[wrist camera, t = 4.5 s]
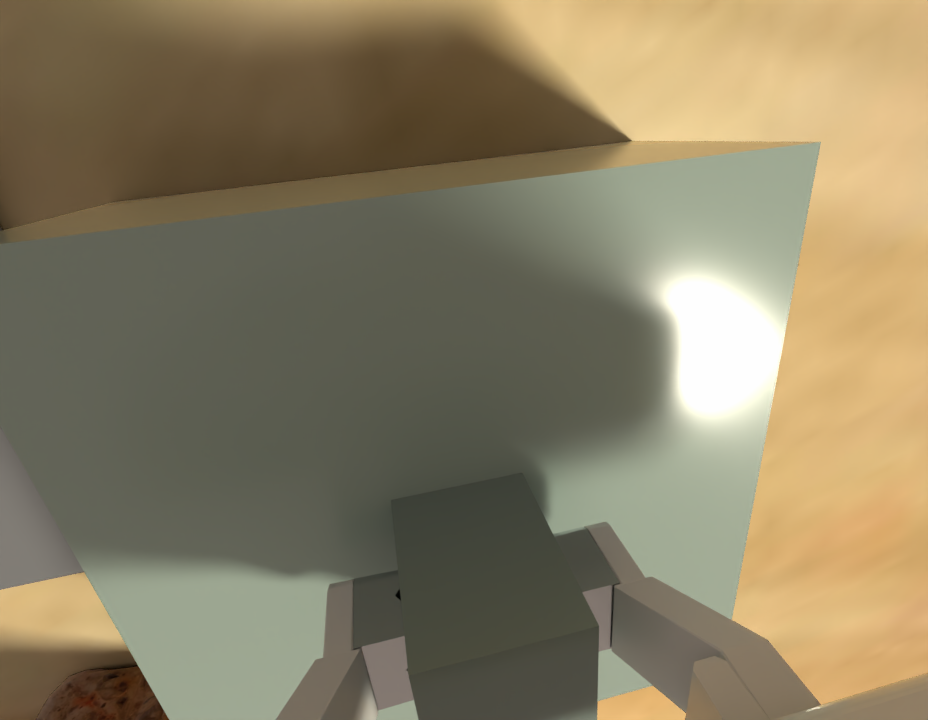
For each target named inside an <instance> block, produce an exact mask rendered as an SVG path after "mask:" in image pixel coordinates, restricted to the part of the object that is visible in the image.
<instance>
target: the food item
mask: <svg viewBox="0 0 928 720" xmlns="http://www.w3.org/2000/svg"><path fill="white" fill-rule="evenodd" d="M36 720H169V718H168V717H167V715H166V713H165V711H164V710H163V708H162V706H161V705H160V703H159V701H158V699H157V698H156V696H155V694H154V692H153V691H152V689H151V687H150V685H149V684H148V682H147V680H146V678H145V677H144V675H143V673H142V671H141V670H140V668H139V666H138V667H129V668H122V669H114V670H106V669H102V668H100V669H94V670H86V671H83V672H80V673H77V674H75V675H72V676H70V677H68V678H67V679H66V680H65V681H64V682H63V683H62V684H61V685H60V686H59V687H58V688H57V689H56V690H55V691H54V692H53V693H52V694H51V695H50V696H49V698H48V699H47V701H46V702H45V704H44V706H43V707H42V709H41V711H40V713H39V714H38V716H37V718H36Z"/></svg>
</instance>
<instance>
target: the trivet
mask: <svg viewBox="0 0 928 720" xmlns="http://www.w3.org/2000/svg"><path fill="white" fill-rule="evenodd" d="M0 231H2V228H1V226H0ZM81 572H84V571H83V569H82V567H81V565H80V564H79V562H78V560H77V558H76V557H75V555H74V553H73V551H72V550H71V548H70V546H69V544H68V543H67V541H66V539H65V538H64V536H63V534H62V532H61V531H60V529H59V527H58V525H57V524H56V522H55V520H54V518H53V517H52V515H51V513H50V511H49V510H48V508H47V506H46V504H45V503H44V501H43V499H42V498H41V496H40V494H39V492H38V491H37V489H36V487H35V485H34V484H33V482H32V480H31V478H30V477H29V475H28V473H27V471H26V470H25V468H24V466H23V464H22V463H21V461H20V459H19V458H18V456H17V454H16V452H15V451H14V449H13V447H12V445H11V444H10V442H9V440H8V438H7V437H6V435H5V433H4V431H3V430H2V428H1V426H0V590H1V589H6V588H10V587H15V586H20V585H24V584H29V583H34V582H39V581H43V580H48V579H53V578H58V577H62V576H67V575H72V574H77V573H81Z"/></svg>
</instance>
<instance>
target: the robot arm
mask: <svg viewBox="0 0 928 720" xmlns="http://www.w3.org/2000/svg"><path fill="white" fill-rule="evenodd" d="M553 535H554V537H555V539H556V541H557V543H558V545H559V547H560V549H561V551H562V553H563V555H564V557H565V559H566V561H567V563H568V565H569V567H570V569H571V571H572V573H573V575H574V577H575V579H576V581H577V583H578V585H579V587H580V589H581V591H582V593H583V595H584V597H585V599H586V601H587V603H588V605H589V607H590V609H591V611H592V613H593V615H594V617H595V619H596V621H597V623H598V624H599V651H603V650H608V649H612V650H611V651H612V652H613V653H615V654H616V655H617V656H618V657H619V658H621V659H622V660H623V661H624V662H625V663H627V664H628V665H629V666H630V667H631V668H633V669H634V670H635V671H636V672H637V673H639V674H640V675H641V676H642V677H643V678H645V679H646V680H647V681H648V682H649V683H651V684H652V685H653V686H654V687H655V688H657V689H658V690H659V691H660V692H661V693H663V694H664V695H665V696H666V697H667V698H669V699H670V700H671V701H672V702H673V703H675V704H676V705H677V706H678V707H679V708H681V709H682V710H683V711H684V712H685V713H686V718H685V720H928V673H925V674H922V675H919V676H915V677H912V678H909V679H905V680H902V681H899V682H895V683H892V684H889V685H886V686H882V687H879V688H876V689H872V690H869V691H866V692H862V693H859V694H856V695H852V696H849V697H846V698H842V699H839V700H836V701H833V702H829V703H826V704H823V705H821V704H820V703H819V702H818V700H817V699H816V698H815V697H814V696H813V694H812V693H811V692H810V691H809V690H808V688H807V687H806V686H805V685H804V684H803V682H802V681H801V680H800V679H799V677H798V676H797V675H796V674H795V673H794V671H793V670H792V669H791V668H790V667H789V665H788V664H787V663H786V662H785V660H784V659H783V658H782V657H781V656H780V654H779V653H778V652H777V651H776V650H775V648H774V647H773V646H772V645H771V643H770V642H769V641H768V640H767V639H765V638H763V637H761V636H760V635H758V634H756V633H754V632H752V631H751V630H749V629H747V628H745V627H743V626H741V625H740V624H738V623H736V622H734V621H732V620H731V619H729V618H727V617H725V616H723V615H722V614H720V613H718V612H716V611H714V610H712V609H711V608H709V607H707V606H705V605H703V604H702V603H700V602H698V601H696V600H694V599H693V598H691V597H689V596H687V595H685V594H683V593H682V592H680V591H678V590H676V589H674V588H673V587H671V586H669V585H667V584H665V583H663V582H662V581H660V580H658V579H656V578H654V577H653V576H651V577H647V578H646V577H645V576H644V574H643V573H642V571H641V570H640V568H639V567H638V565H637V564H636V563H635V561H634V560H633V558H632V557H631V555H630V554H629V552H628V551H627V549H626V548H625V546H624V545H623V543H622V542H621V540H620V539H619V537H618V536H617V534H616V533H615V531H614V530H613V528H612V527H611V525H610V524H609V523H607V522H606V521H605V522H601V523H597V524H593V525H588V526H584V527H580V528H575V529H571V530H567V531H563V532H559V533H555V534H553ZM412 700H414V698H413V693H412V689H411V684H410V680H409V675H408V665H407V655H406V645H405V635H404V625H403V615H402V605H401V595H400V585H399V575H398V570H395V571H390V572H385V573H380V574H375V575H370V576H365V577H360V578H355V579H352V580H347V581H342V582H337V583H332V584H329V587H328V590H327V601H326V617H325V633H324V649H323V658H320V659H316V660H315V661H314V662H313V664H312V665H311V667H310V668H309V670H308V671H307V673H306V675H305V676H304V678H303V679H302V681H301V682H300V684H299V685H298V687H297V688H296V690H295V691H294V693H293V694H292V696H291V697H290V699H289V700H288V702H287V703H286V705H285V706H284V708H283V709H282V711H281V712H280V714H279V715H278V717H277V718H276V720H376V719H377V716H378V714H379V713H378V710H382V709H385V708H389V707H392V706H395V705H399V704H402V703H405V702H409V701H412Z"/></svg>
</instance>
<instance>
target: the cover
mask: <svg viewBox="0 0 928 720" xmlns="http://www.w3.org/2000/svg"><path fill="white" fill-rule="evenodd" d="M820 143H821V142H725V141H629V142H621V143H612V144H604V145H595V146H587V147H578V148H570V149H561V150H552V151H544V152H535V153H527V154H518V155H510V156H501V157H493V158H484V159H476V160H467V161H459V162H450V163H442V164H433V165H424V166H416V167H407V168H399V169H390V170H382V171H373V172H365V173H356V174H348V175H339V176H331V177H322V178H314V179H305V180H296V181H288V182H279V183H271V184H262V185H254V186H245V187H237V188H228V189H220V190H211V191H203V192H194V193H186V194H177V195H168V196H160V197H151V198H143V199H134V200H126V201H117V202H111V203H107V204H103V205H99V206H95V207H92V208H88V209H84V210H80V211H76V212H72V213H68V214H64V215H61V216H57V217H53V218H49V219H45V220H41V221H37V222H33V223H30V224H26V225H22V226H18V227H14V228H10V229H6V230H2V231H0V426H1V428H2V430H3V431H4V433H5V435H6V437H7V438H8V440H9V442H10V444H11V445H12V447H13V449H14V451H15V452H16V454H17V456H18V458H19V459H20V461H21V463H22V464H23V466H24V468H25V470H26V471H27V473H28V475H29V477H30V478H31V480H32V482H33V484H34V485H35V487H36V489H37V491H38V492H39V494H40V496H41V498H42V499H43V501H44V503H45V504H46V506H47V508H48V510H49V511H50V513H51V515H52V517H53V518H54V520H55V522H56V524H57V525H58V527H59V529H60V531H61V532H62V534H63V536H64V538H65V539H66V541H67V543H68V544H69V546H70V548H71V550H72V551H73V553H74V555H75V557H76V558H77V560H78V562H79V564H80V565H81V567H82V569H83V571H84V572H85V574H86V576H87V578H88V579H89V581H90V583H91V584H92V586H93V588H94V590H95V591H96V593H97V595H98V597H99V598H100V600H101V602H102V604H103V605H104V607H105V609H106V611H107V612H108V614H109V616H110V618H111V619H112V621H113V623H114V624H115V626H116V628H117V630H118V631H119V633H120V635H121V637H122V638H123V640H124V642H125V644H126V645H127V647H128V649H129V651H130V652H131V654H132V656H133V658H134V659H135V661H136V663H137V665H138V666H139V668H140V670H141V671H142V673H143V675H144V677H145V678H146V680H147V682H148V684H149V685H150V687H151V689H152V691H153V692H154V694H155V696H156V698H157V699H158V701H159V703H160V705H161V706H162V708H163V710H164V711H165V713H166V715H167V717H168V718H169V720H276V718H277V717H278V715H279V714H280V712H281V711H282V709H283V708H284V706H285V705H286V703H287V702H288V700H289V699H290V697H291V696H292V694H293V693H294V691H295V690H296V688H297V687H298V685H299V684H300V682H301V681H302V679H303V678H304V676H305V675H306V673H307V671H308V670H309V668H310V667H311V665H312V664H313V662H314V661H315V660H316V659H320V658H323V649H324V633H325V617H326V601H327V590H328V587H329V584H332V583H337V582H342V581H347V580H352V579H355V578H360V577H365V576H370V575H375V574H380V573H385V572H390V571H395V570H398V575H399V585H400V595H401V605H402V615H403V625H404V635H405V645H406V655H407V665H408V675H409V680H410V684H411V689H412V693H413V698H414V700H412V701H409V702H405V703H402V704H399V705H395V706H392V707H389V708H385V709H382V710H378V713H379V714H378V716H377V719H376V720H597V701H600V700H603V699H607V698H610V697H614V696H617V695H621V694H624V693H628V692H632V691H635V690H639V689H642V688H646V687H649V686H653V685H652V684H651V683H649V682H648V681H647V680H646V679H645V678H643V677H642V676H641V675H640V674H639V673H637V672H636V671H635V670H634V669H633V668H631V667H630V666H629V665H628V664H627V663H625V662H624V661H623V660H622V659H621V658H619V657H618V656H617V655H616V654H615V653H613V652H612V651H611V650H612V649H608V650H603V651H599V624H598V623H597V621H596V619H595V617H594V615H593V613H592V611H591V609H590V607H589V605H588V603H587V601H586V599H585V597H584V595H583V593H582V591H581V589H580V587H579V585H578V583H577V581H576V579H575V577H574V575H573V573H572V571H571V569H570V567H569V565H568V563H567V561H566V559H565V557H564V555H563V553H562V551H561V549H560V547H559V545H558V543H557V541H556V539H555V537H554V535H553V534H555V533H559V532H563V531H567V530H571V529H575V528H580V527H584V526H588V525H593V524H597V523H601V522H605V521H606V522H607V523H609V524H610V525H611V527H612V528H613V530H614V531H615V533H616V534H617V536H618V537H619V539H620V540H621V542H622V543H623V545H624V546H625V548H626V549H627V551H628V552H629V554H630V555H631V557H632V558H633V560H634V561H635V563H636V564H637V565H638V567H639V568H640V570H641V571H642V573H643V574H644V576H645V577H646V578H647V577H651V576H653V577H654V578H656V579H658V580H660V581H662V582H663V583H665V584H667V585H669V586H671V587H673V588H674V589H676V590H678V591H680V592H682V593H683V594H685V595H687V596H689V597H691V598H693V599H694V600H696V601H698V602H700V603H702V604H703V605H705V606H707V607H709V608H711V609H712V610H714V611H716V612H718V613H720V614H722V615H723V616H725V617H727V618H729V619H731V620H732V615H733V610H734V604H735V599H736V594H737V588H738V583H739V578H740V572H741V567H742V561H743V556H744V551H745V545H746V540H747V535H748V529H749V524H750V519H751V513H752V508H753V503H754V497H755V492H756V486H757V481H758V476H759V470H760V465H761V460H762V454H763V449H764V444H765V438H766V433H767V427H768V422H769V417H770V411H771V406H772V401H773V395H774V390H775V385H776V379H777V374H778V369H779V363H780V358H781V352H782V347H783V342H784V336H785V331H786V326H787V320H788V315H789V310H790V304H791V299H792V294H793V288H794V283H795V277H796V272H797V267H798V261H799V256H800V251H801V245H802V240H803V235H804V229H805V224H806V218H807V213H808V208H809V202H810V197H811V192H812V186H813V181H814V176H815V170H816V165H817V160H818V154H819V149H820Z"/></svg>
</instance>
